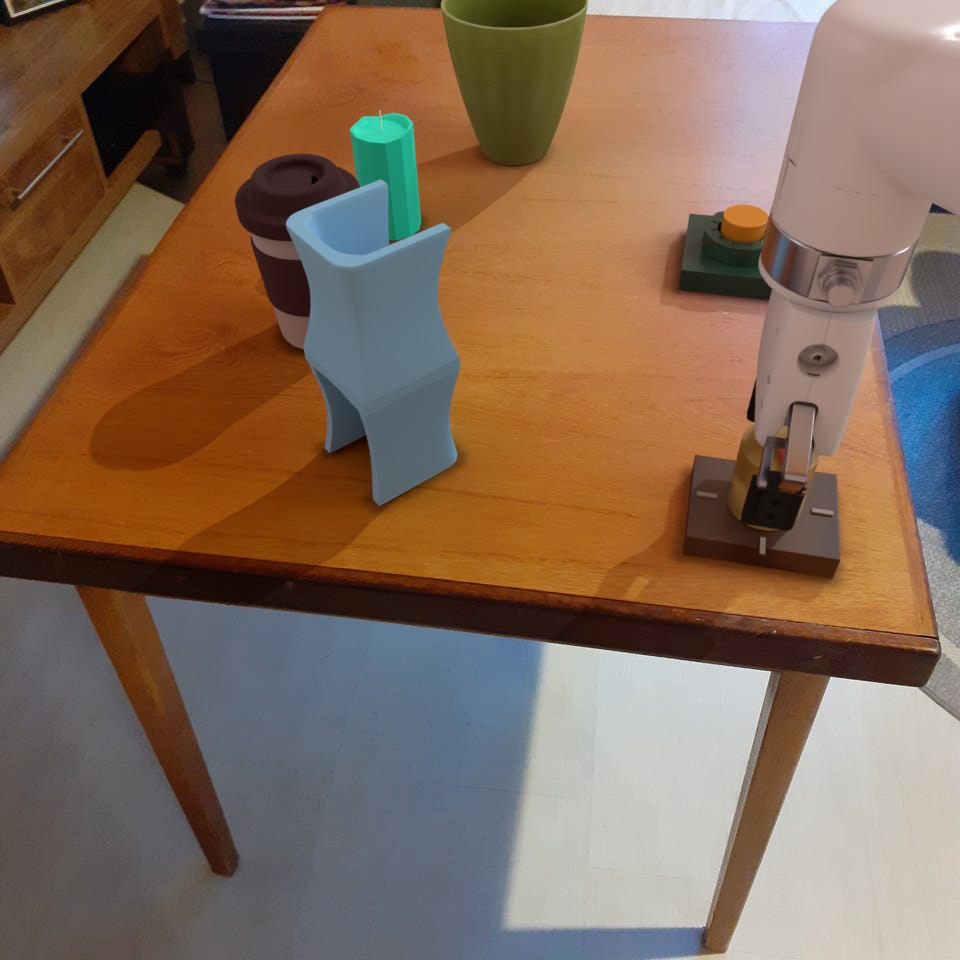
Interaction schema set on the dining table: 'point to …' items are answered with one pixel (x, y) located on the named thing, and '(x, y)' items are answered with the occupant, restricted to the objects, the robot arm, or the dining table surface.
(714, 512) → the dimmer
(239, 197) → the coffee cup
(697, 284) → the switch box
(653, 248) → the dining table surface
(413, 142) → the candle
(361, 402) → the light blue open shell
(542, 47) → the flower pot
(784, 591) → the dining table surface
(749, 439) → the knob
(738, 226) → the button
